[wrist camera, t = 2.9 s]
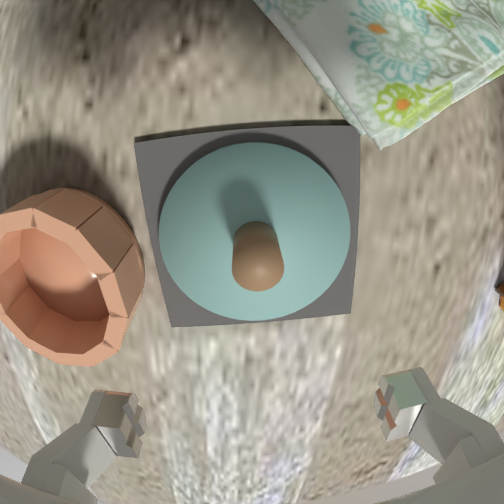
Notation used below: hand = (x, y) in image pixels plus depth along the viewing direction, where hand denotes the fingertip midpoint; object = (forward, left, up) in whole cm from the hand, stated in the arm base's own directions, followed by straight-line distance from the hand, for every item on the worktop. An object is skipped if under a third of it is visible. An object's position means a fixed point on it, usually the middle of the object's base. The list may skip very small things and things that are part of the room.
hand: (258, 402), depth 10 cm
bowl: (+1, -14, -13) cm, 19 cm away
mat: (0, 0, -13) cm, 13 cm away
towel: (-19, +9, -13) cm, 25 cm away
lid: (0, 0, -13) cm, 13 cm away
